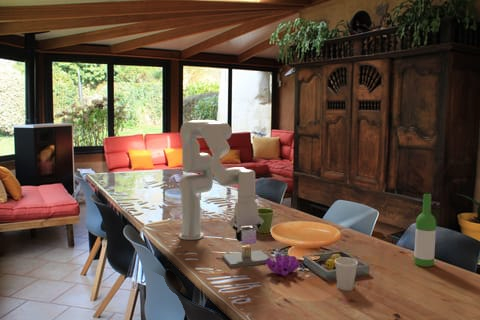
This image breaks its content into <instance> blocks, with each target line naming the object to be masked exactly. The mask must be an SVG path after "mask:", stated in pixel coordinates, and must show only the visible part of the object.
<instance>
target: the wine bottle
mask: <svg viewBox="0 0 480 320" xmlns="http://www.w3.org/2000/svg"><path fill="white" fill-rule="evenodd" d="M431 208H432V194H431V193H424V194H423V200H422V213H420V214H419V215H418V216H417V217H416V220H415V236H414V252H413V253H414V254H413V257H414V258H413V262H414V264H416V265H417V266H419V267H424V268H425V267H426V268H429V267H432V266H433V265H434V263H435V251H436V249H435V248H436V235H437V234H436V231H437V230H436V229H437V228H436V227H437V222H436V221H437V219H436V218H435V216H434V215H433V214H432V213H431V210H432V209H431Z"/></svg>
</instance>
